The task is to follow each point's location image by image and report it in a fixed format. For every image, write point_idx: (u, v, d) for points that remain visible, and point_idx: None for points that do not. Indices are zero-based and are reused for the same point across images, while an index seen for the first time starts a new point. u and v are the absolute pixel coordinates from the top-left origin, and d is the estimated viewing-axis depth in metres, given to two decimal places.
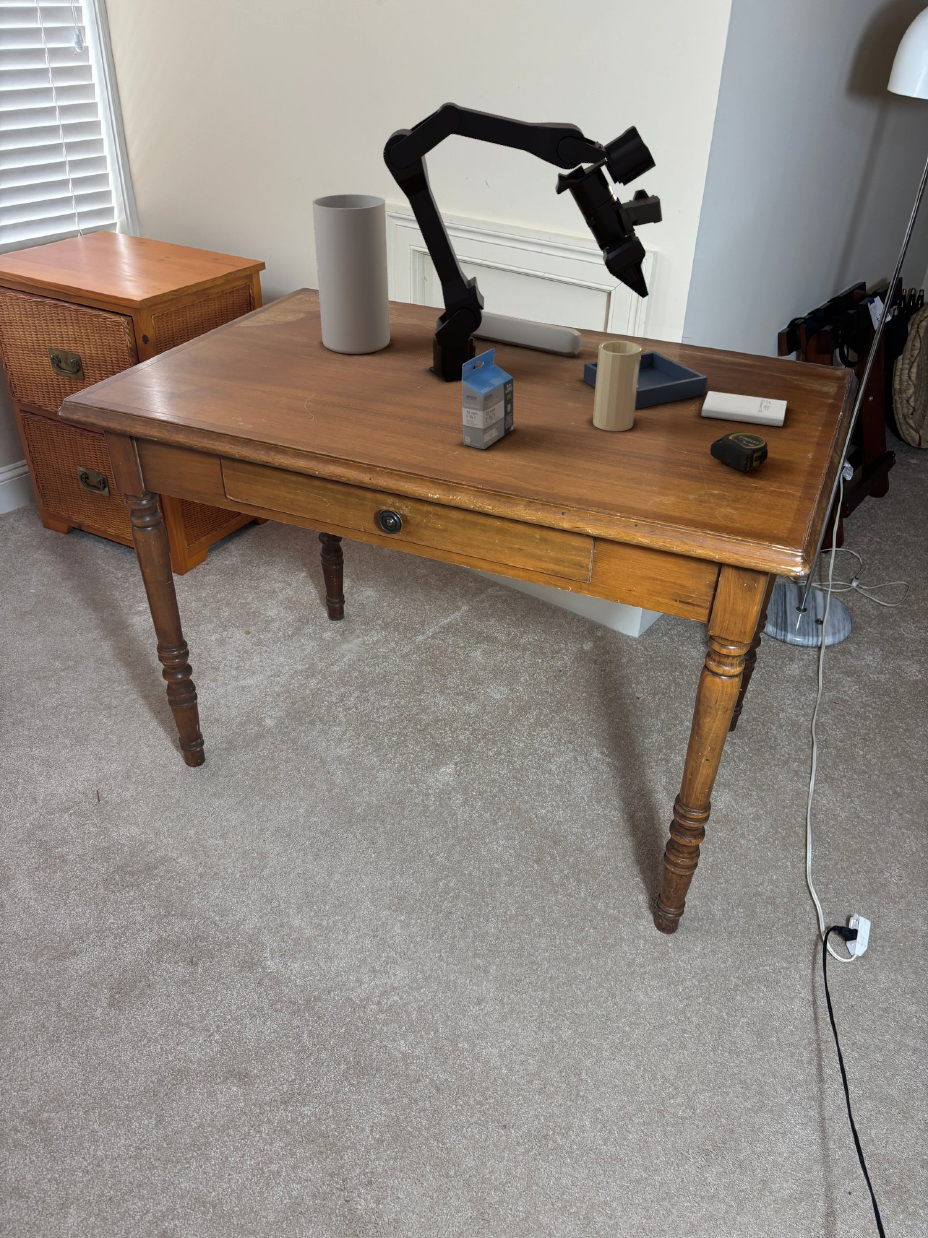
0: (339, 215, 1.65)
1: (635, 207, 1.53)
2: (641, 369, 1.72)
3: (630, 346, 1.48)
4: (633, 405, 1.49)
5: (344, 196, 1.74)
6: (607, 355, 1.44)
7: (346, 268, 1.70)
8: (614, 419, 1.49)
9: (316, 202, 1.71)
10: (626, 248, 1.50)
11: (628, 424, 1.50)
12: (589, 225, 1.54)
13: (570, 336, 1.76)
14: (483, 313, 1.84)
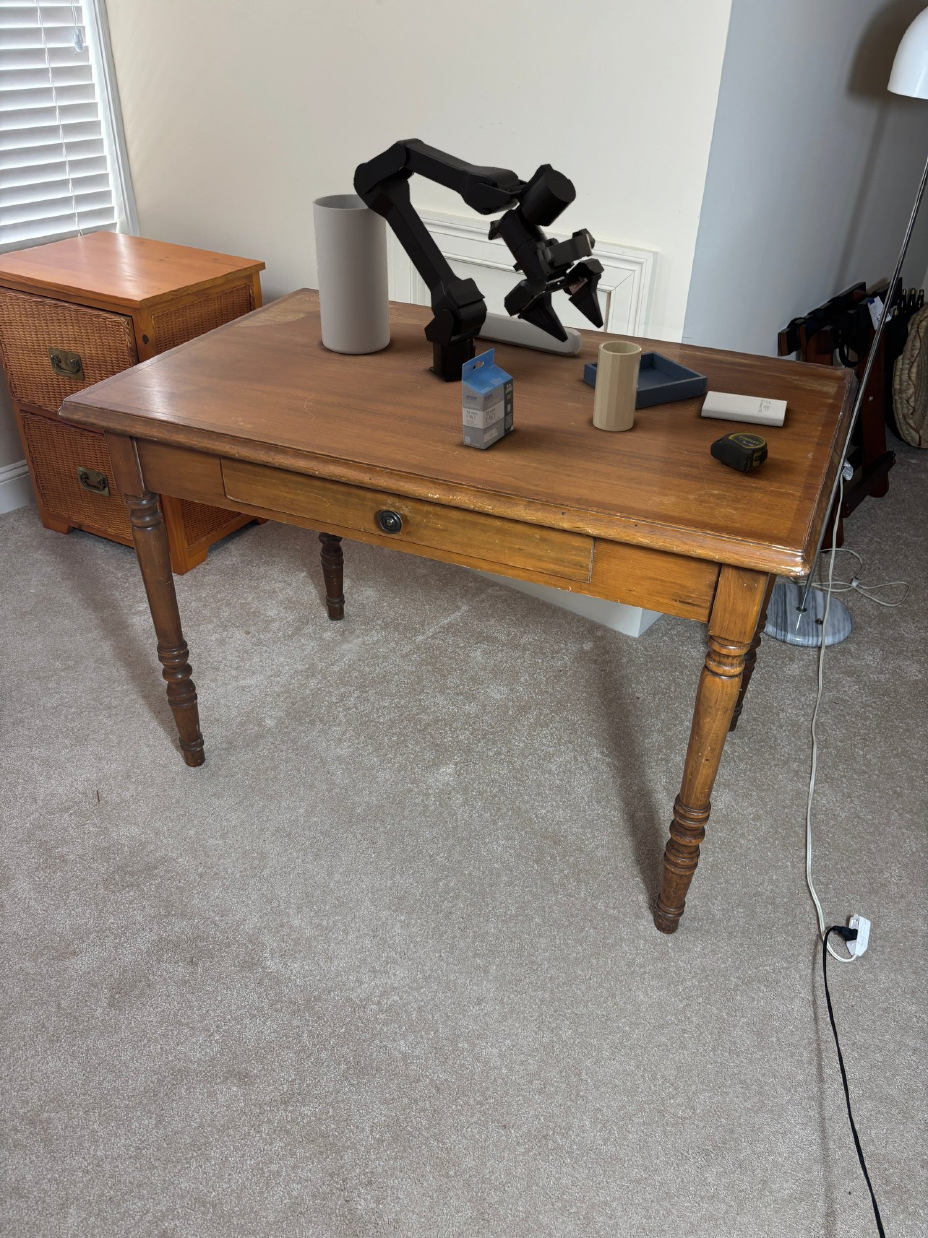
0: (339, 216, 1.65)
1: (550, 247, 1.44)
2: (641, 369, 1.72)
3: (630, 346, 1.48)
4: (633, 405, 1.49)
5: (345, 196, 1.74)
6: (607, 355, 1.44)
7: (345, 269, 1.70)
8: (614, 419, 1.49)
9: (316, 202, 1.71)
10: (515, 289, 1.43)
11: (628, 424, 1.50)
12: (516, 269, 1.50)
13: (570, 336, 1.76)
14: None
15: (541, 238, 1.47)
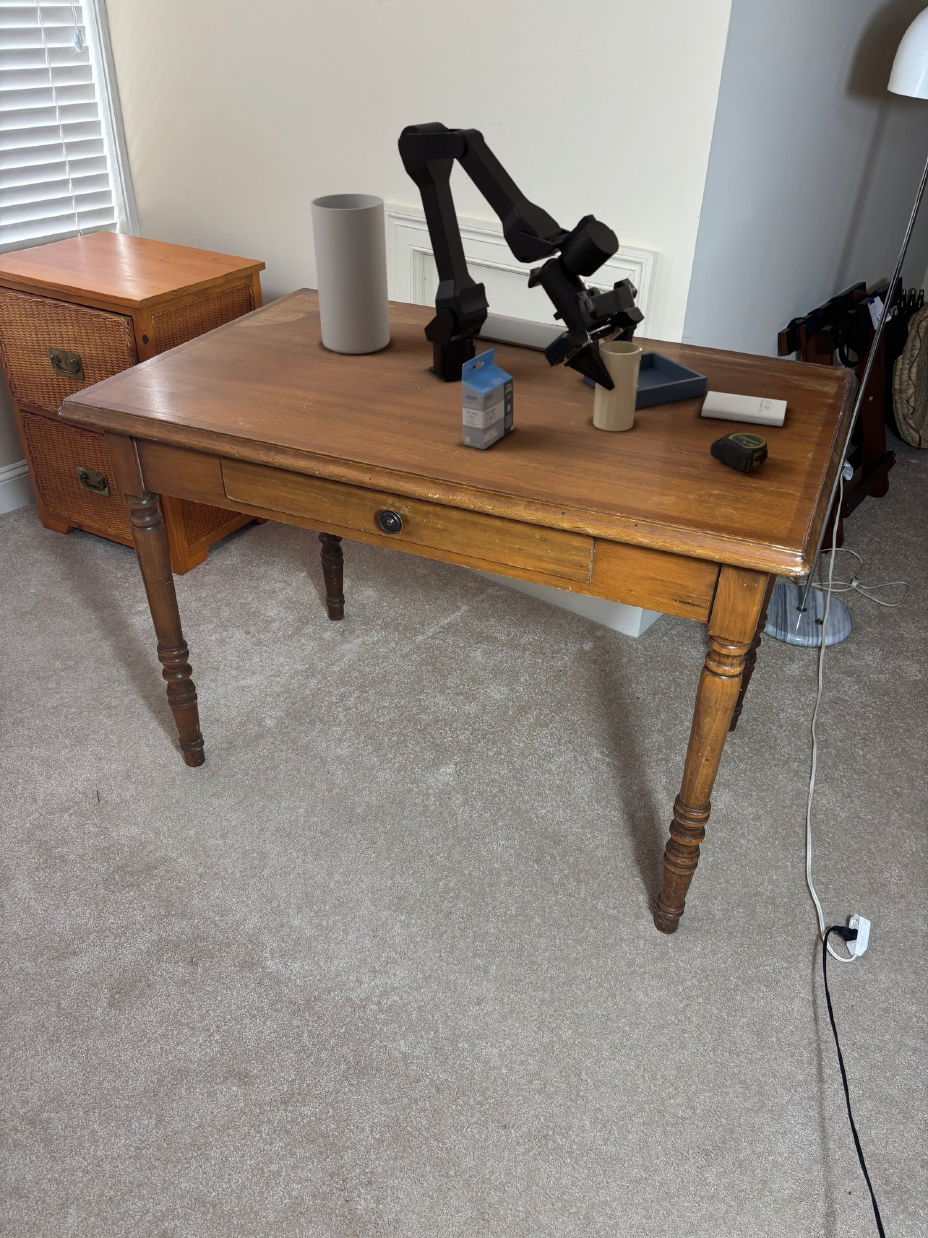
0: (337, 216, 1.65)
1: (592, 298, 1.43)
2: (641, 369, 1.72)
3: (630, 346, 1.48)
4: (633, 405, 1.49)
5: (343, 195, 1.74)
6: (607, 355, 1.44)
7: (344, 269, 1.70)
8: (614, 419, 1.49)
9: (315, 202, 1.70)
10: (557, 341, 1.42)
11: (628, 424, 1.50)
12: (556, 318, 1.48)
13: None
14: None
15: (582, 288, 1.46)
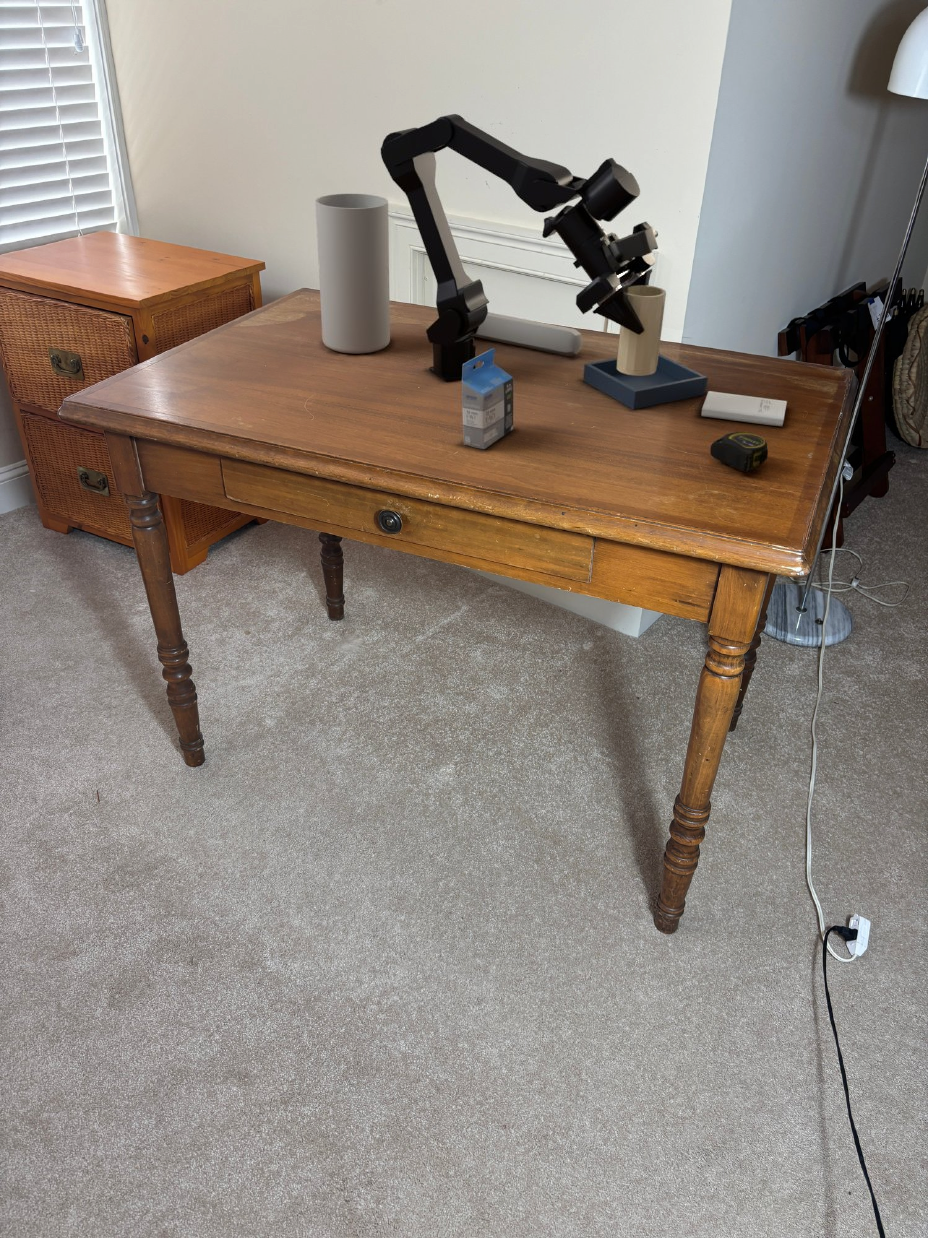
0: (340, 215, 1.65)
1: (618, 242, 1.43)
2: None
3: (651, 290, 1.49)
4: (658, 348, 1.51)
5: (349, 195, 1.74)
6: (636, 299, 1.45)
7: (346, 268, 1.70)
8: (642, 363, 1.50)
9: (320, 200, 1.71)
10: (591, 286, 1.41)
11: (654, 368, 1.52)
12: (576, 266, 1.48)
13: (570, 336, 1.76)
14: None
15: (603, 233, 1.46)
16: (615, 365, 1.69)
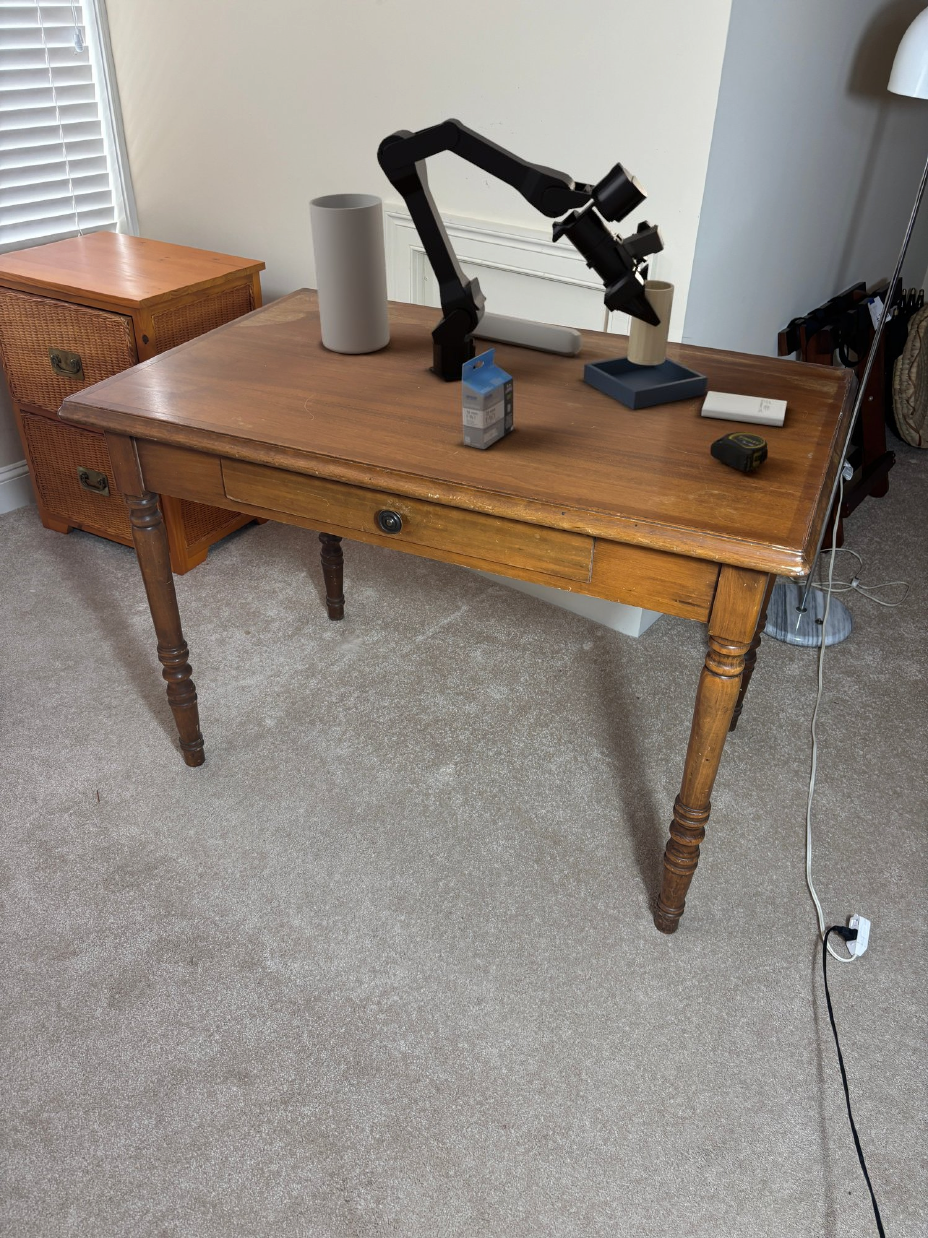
0: (333, 216, 1.65)
1: (632, 241, 1.51)
2: (641, 369, 1.72)
3: (655, 283, 1.59)
4: None
5: (343, 195, 1.74)
6: (652, 293, 1.54)
7: (341, 268, 1.70)
8: (657, 353, 1.59)
9: (314, 202, 1.71)
10: (621, 285, 1.48)
11: (665, 356, 1.62)
12: (589, 267, 1.54)
13: (570, 336, 1.76)
14: None
15: (613, 234, 1.53)
16: (615, 365, 1.69)
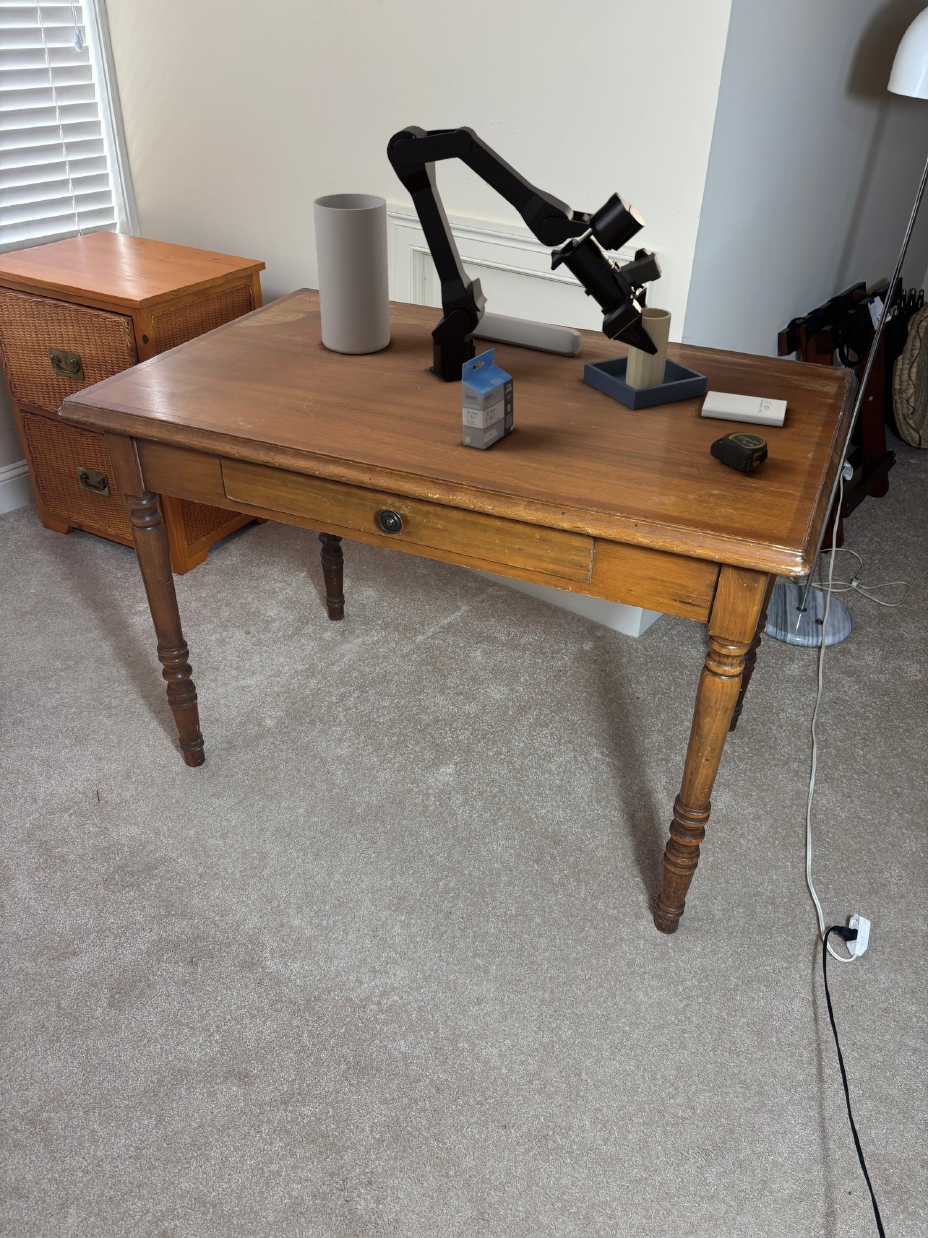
0: (337, 216, 1.65)
1: (630, 269, 1.53)
2: None
3: (653, 311, 1.61)
4: None
5: (348, 195, 1.74)
6: (649, 321, 1.56)
7: (343, 269, 1.69)
8: (655, 379, 1.62)
9: (318, 201, 1.71)
10: (619, 313, 1.51)
11: (662, 382, 1.64)
12: (588, 294, 1.57)
13: (570, 336, 1.76)
14: None
15: (610, 262, 1.55)
16: (615, 365, 1.69)
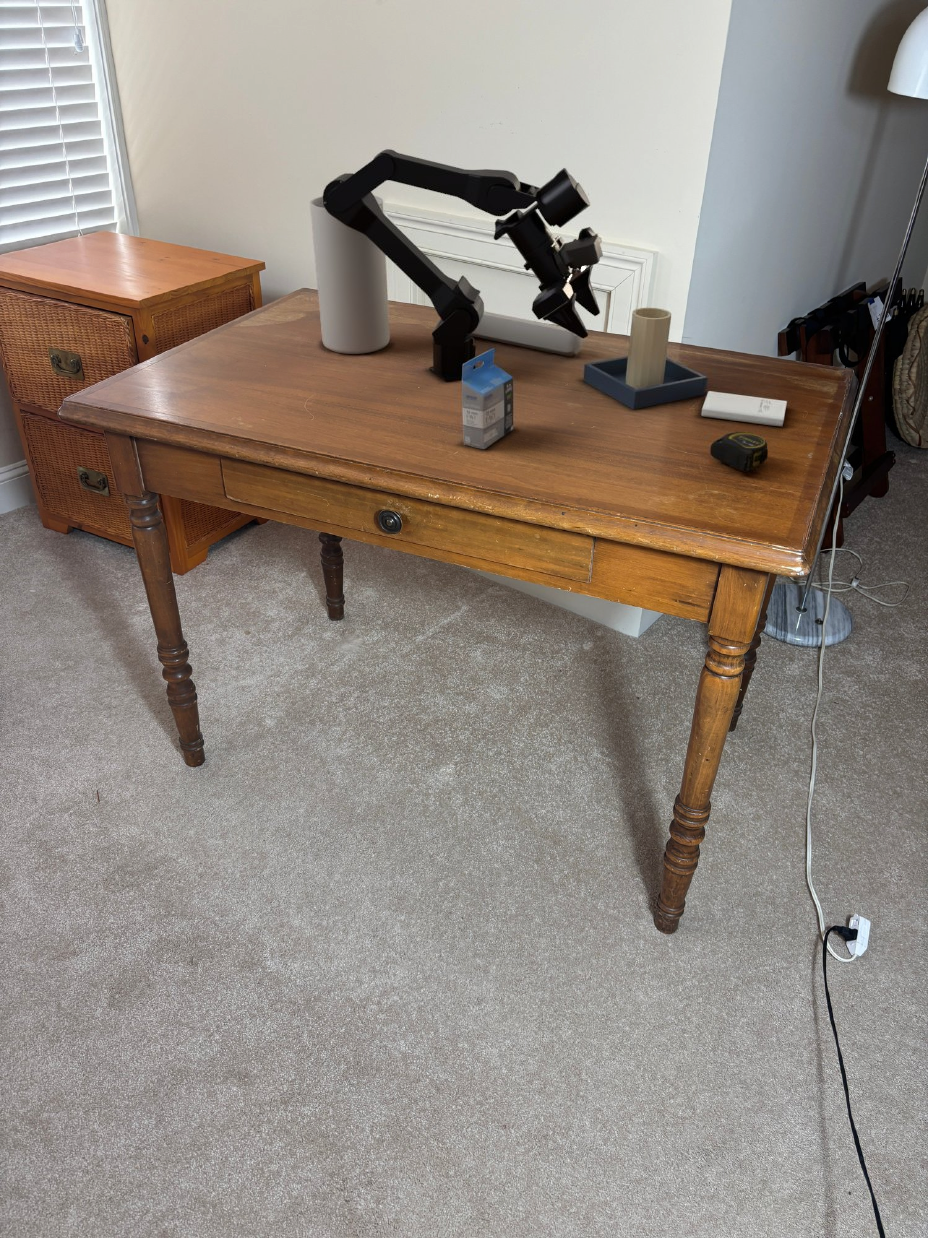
0: None
1: (568, 251, 1.53)
2: None
3: (653, 311, 1.61)
4: None
5: None
6: (649, 321, 1.56)
7: (340, 269, 1.70)
8: (655, 379, 1.62)
9: (315, 201, 1.71)
10: (548, 296, 1.52)
11: (662, 382, 1.64)
12: (527, 268, 1.57)
13: (570, 336, 1.76)
14: (483, 313, 1.84)
15: (552, 239, 1.55)
16: (615, 365, 1.69)
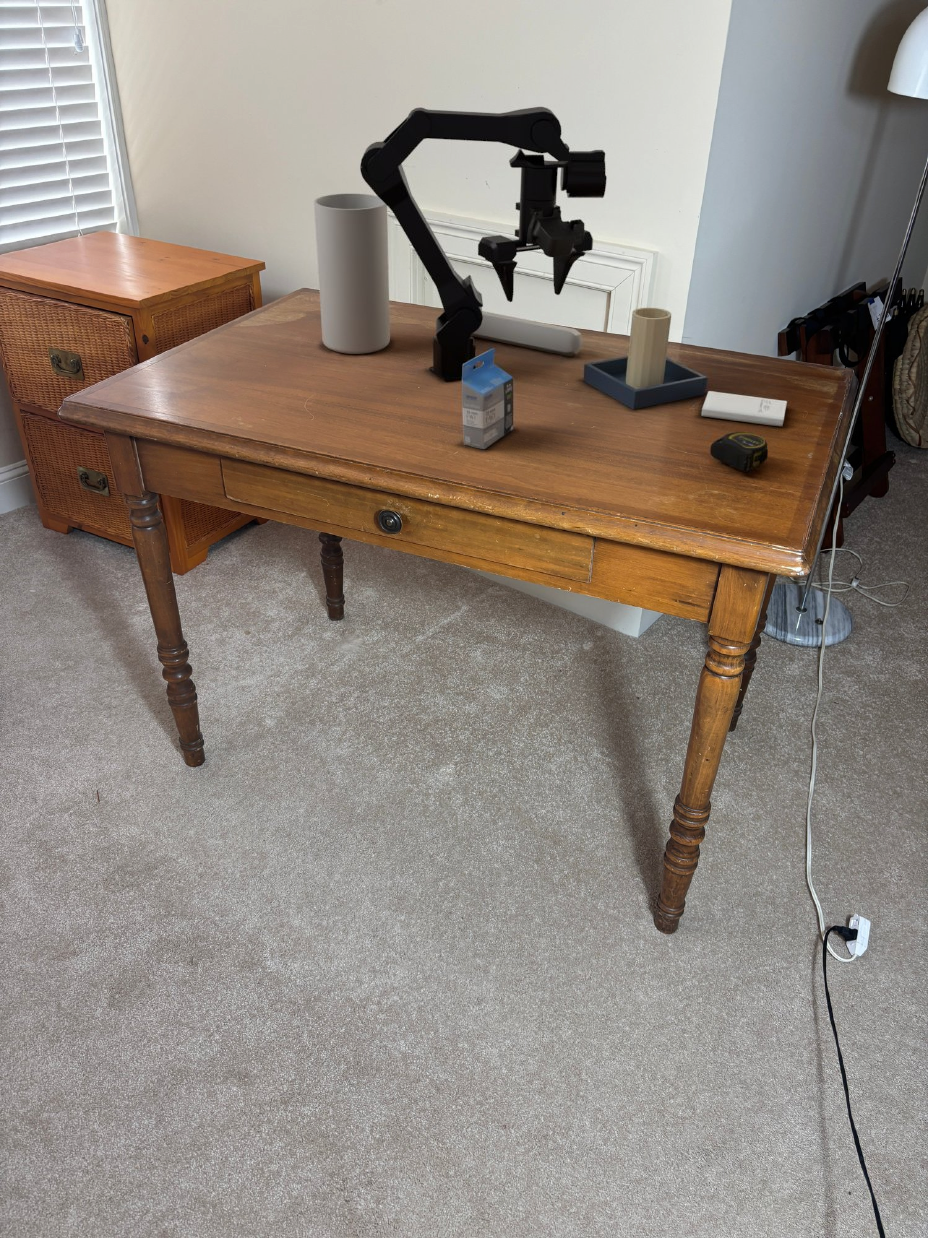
0: (336, 215, 1.65)
1: (540, 226, 1.52)
2: None
3: (653, 311, 1.61)
4: None
5: (350, 195, 1.74)
6: (649, 321, 1.56)
7: (342, 268, 1.70)
8: (655, 379, 1.62)
9: (320, 200, 1.71)
10: (488, 245, 1.54)
11: (662, 382, 1.64)
12: (516, 207, 1.57)
13: (570, 336, 1.76)
14: (483, 313, 1.84)
15: (545, 205, 1.53)
16: (615, 365, 1.69)
